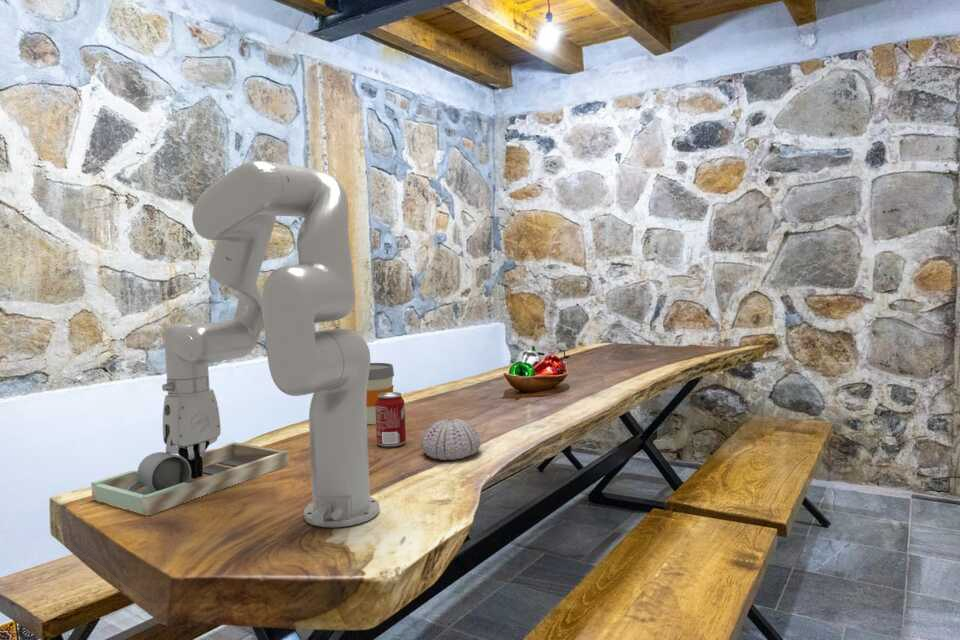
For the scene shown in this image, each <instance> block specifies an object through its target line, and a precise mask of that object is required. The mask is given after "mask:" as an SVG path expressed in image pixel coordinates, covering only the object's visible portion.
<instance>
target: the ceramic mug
mask: <svg viewBox="0 0 960 640" xmlns="http://www.w3.org/2000/svg"><path fill="white" fill-rule="evenodd" d="M137 471H138V472H137V475H138V480H137V481H135V482H134V483H133V484H131V485H130V486H129V487H128V488H127V489H126V490H127V491H131V492H135V493H139V494H143V495H147V494H150V493H153V492H156V491H159V490H162V489H165V488H168V487H171V486H174V485H177V484H180V483H183V482H184V483H190V482H191V479H192V478H191V467H190V464H189V463H188V461H187V460H186V459H185V458H184V457H182V456H180V455H179V454H169V453H166V452H162V451H160V452H154V453H151V454H148V455H147V456H146V457H144V458H143V459H142V461H141V462H140V463H139V465H138V468H137ZM141 486H143V487H141ZM139 489H140V490H139Z"/></svg>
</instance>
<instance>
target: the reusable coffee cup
mask: <svg viewBox="0 0 960 640" xmlns="http://www.w3.org/2000/svg"><path fill="white" fill-rule="evenodd" d="M394 376H395V372H394V366H393V364H392V363H388V362H387V363H386V362H370V370H369V377H368V384H367V399H366V406H367V424H372V425H376V406H375V403H376V401H377V399H378V394H381V393H386V392H394V385H393V378H394Z"/></svg>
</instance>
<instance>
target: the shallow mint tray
mask: <svg viewBox="0 0 960 640" xmlns="http://www.w3.org/2000/svg"><path fill="white" fill-rule="evenodd" d="M136 471H137V470H133V469H132V470H129V471H126V472H123V473H119V474H115V475H112V476H109V477H106V478H102V479H98V480H95V481H92V482H90V484H91V485H94V486H95V485H96V486H95V492H96V500H97V501H101V502H105V503H109V504H112V505H116V506H119V507H123V508H126V509H129V510H133V511H136V512H139V513H142V514H144V512H143V499H150V498H153V497H156V496H159V495H162V494H164V493H167V492H170V491H173V490H176V489H179V488H182V487H185V486H188V483H184V482H183V483H180V484H177V485H174V486H171V487H168V488H165V489H162V490H159V491H156V492H152V493H150V494H147V495H143V494H139V493H135V492H136V491H135V492H131V491H127V490H124V489H120V488H116V487H112V486H108V485H105V484H102V483H105V482H109V481H112V480H115V479H119V478H122V477H125V476H129V475H132V474H136Z"/></svg>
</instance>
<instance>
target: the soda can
mask: <svg viewBox="0 0 960 640" xmlns="http://www.w3.org/2000/svg"><path fill="white" fill-rule="evenodd" d="M375 406H376V424H375V426H376V444H378V445H379V446H381V447H383V448H388V447H390V448H397V446H398V447H401V446H402V445H403V444H405V443H406V441H407V438H406V437H407V435H406V433H407V432H406V409H405V408H406V407H405V400H404V398H403V397H402V393H401V392H397V391H393V392H386V393H381V394H378V399H377V401H376V403H375Z"/></svg>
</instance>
